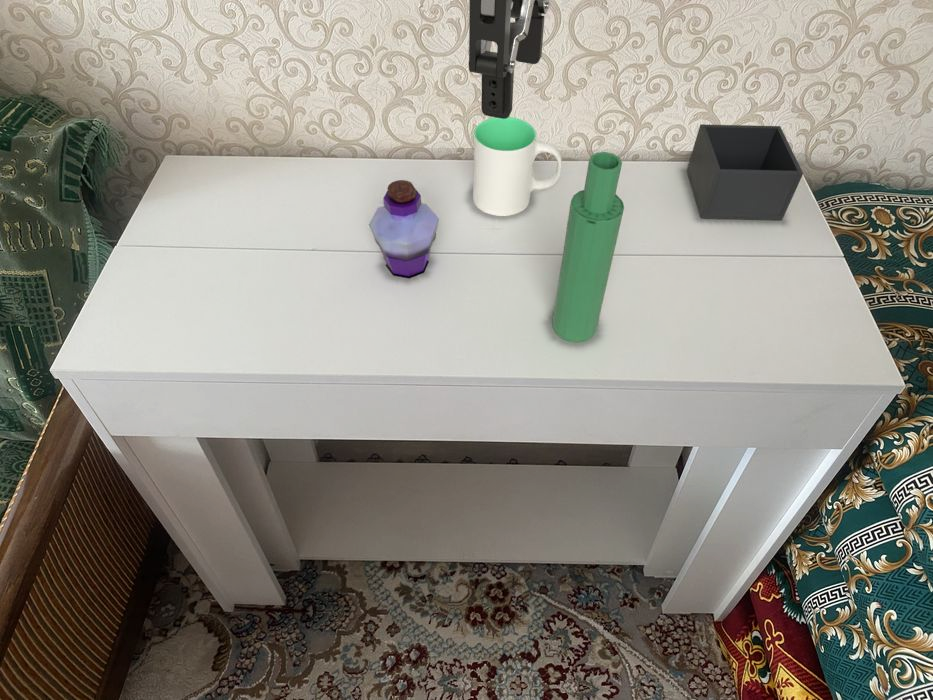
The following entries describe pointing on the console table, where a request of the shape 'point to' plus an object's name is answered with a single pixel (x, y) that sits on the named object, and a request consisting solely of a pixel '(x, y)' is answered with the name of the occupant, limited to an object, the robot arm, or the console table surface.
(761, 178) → the bin
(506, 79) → the robot arm
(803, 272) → the console table surface
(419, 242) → the potion bottle
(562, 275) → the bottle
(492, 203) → the mug
